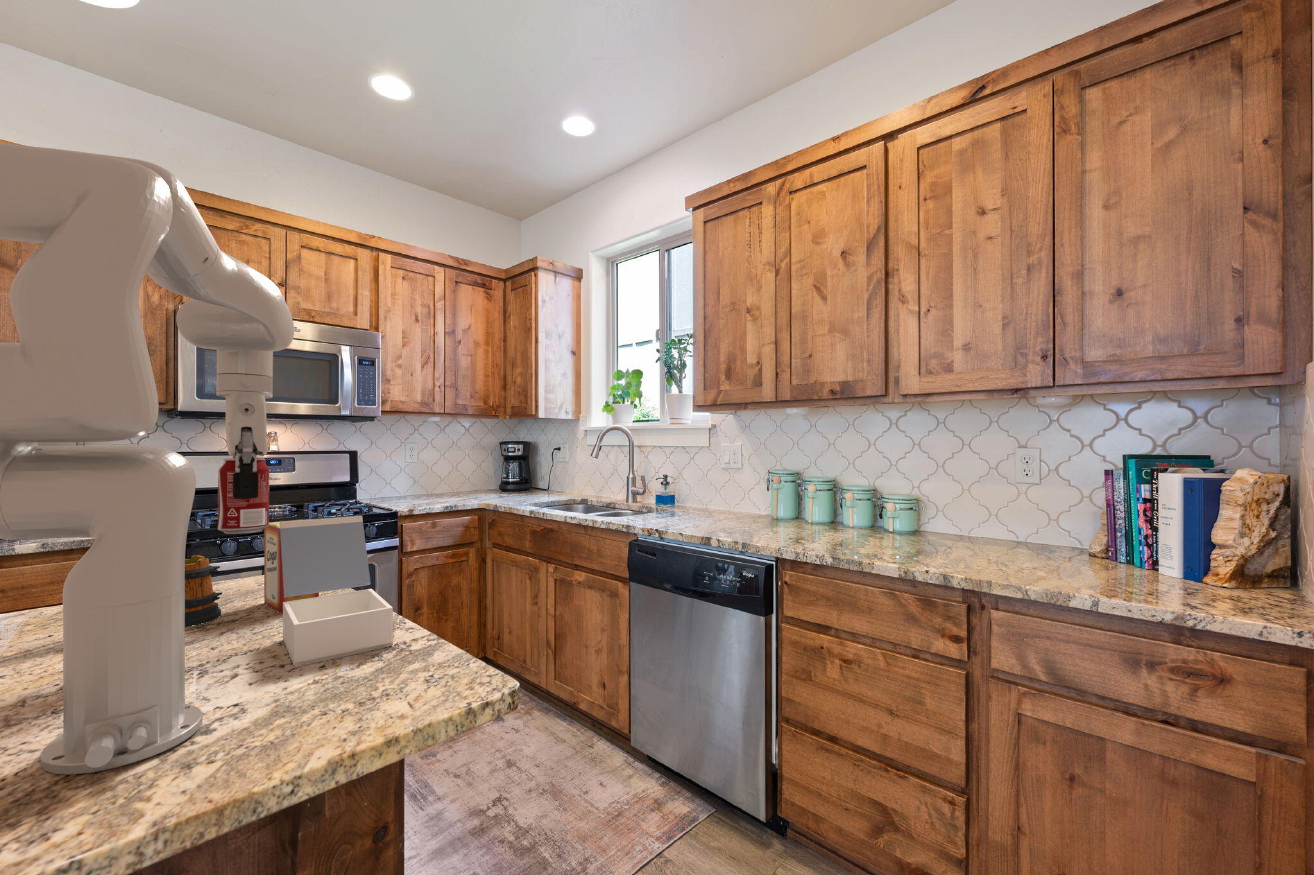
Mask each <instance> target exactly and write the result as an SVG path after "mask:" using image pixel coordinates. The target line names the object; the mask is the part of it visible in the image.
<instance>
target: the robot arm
mask: <svg viewBox="0 0 1314 875" xmlns="http://www.w3.org/2000/svg"><path fill="white" fill-rule="evenodd" d="M0 241H13V242H23V243H34V244H35V243H36V244H41V245H40V246H39V247H38V248H37V249H36V250H35V251H34V252H33V253H32V254H31V256H29V258H27V259H26V260H25V262H24V263H23V264H22V266H21V267H20V268H19V269H18V270H17V273H16V274H15V276H14V278H13V280H12V283H11V286H10V287H9V288H10V289H9V297H8V299H9V303H10V309H11V314H12V316H13V319H14V323H15V327H16V332H17V335H18V340H19V342H1V341H0V540H17V541H19V540H48V539H66V538H67V539H70V538H80V539H82V538H83V539H84V538H91V539H94V542H93V543H92V545H91V547H90V548H89V549H88V550H87V551H86V552H85V553H84V555H83V556H82V557H81V558H80V559H79V560H78V561H77V562H76V563H75V564H74V566H73V567H72V568H71V570H70V571H69V572H68V574H67V576H66V578H65V581H64V583H63V588H62V613H63V614H62V621H63V622H62V626H63V629H62V632H63V634H62V635H63V638H62V639H63V640H62V647H63V648H62V649H63V650H62V652H63V653H62V654H63V655H62V660H63V661H62V662H63V663H62V664H63V666H62V669H63V672H62V673H63V674H62V675H63V676H62V677H63V678H62V680H63V681H62V683H63V684H62V685H63V686H62V689H63V691H62V692H63V693H62V694H63V696H62V699H63V702H62V703H63V704H62V705H63V706H62V708H63V709H62V710H63V711H62V712H63V714H62V715H63V722H62V723H63V725H62V726H63V728H62V729H63V731H62V734H60V735H59V736H57V737H56V738H54V739H53V740H52V741H50V742H48V744H47V745H46V746H45V747H44V748H43V749H42V751H41V753H40V766H41V768H42V769H43V770H45V771H47V772H48V773H50V774H51V773H52V774H56V775H57V774H58V775H79V774H80V775H81V774H82V775H83V774H90V773H96V772H101V771H106V770H111V769H115V768H119V767H122V766H123V767H124V766H127V765H130V764H134V763H136V762H139V761H142V760H146V759H148V758H151V757H153V756H156V755H158V754H162V753H164V752H166V751H167V750H169V749H172V748H174V747H176V746H178V745H179V744H181V743H183V742H184V741H185V742H186V740H188V739H189V738H191V737H192V736H193V735H194V734H196V732H197V731H199V729H200V728H201V727H202V724H203V711H202V709H201V708H199V707H198V706H196V705H192V704H186V664H185V663H186V651H185V650H186V649H185V648H186V627H185V559H186V547H187V546H186V544H187V538H188V537H187V535H188V530H189V529H188V528H189V523H190V520H191V519H190V518H191V513H192V509H193V504H194V500H195V499H194V498H195V493H196V484H197V483H196V481H197V480H196V473H195V470H194V468H193V465H192V464H191V462H190V461H189V460H188V459H187V458H186V457H185V456H184V455H183V454H180V453H178V452H176V451H174V450H170V449H168V448H164V447H158V446H152V445H137V444H122V445H121V444H117V445H116V444H106V445H105V444H95V445H94V444H87V445H39V444H38V443H103V442H104V443H105V442H115V441H116V442H117V441H125V440H130V439H131V440H132V439H135V438H139V437H141V436H143V435H145V434H147V433H149V432H150V431H151V430H152V429H153V428H154V427H155V425H156V423H157V421H158V417H159V407H160V406H159V395H158V390H157V384H156V381H155V376H154V371H153V368H152V363H151V359H150V358H151V357H150V354H149V349H148V344H147V340H146V336H145V331H144V326H143V322H142V317H141V308H140V293H141V289H142V284H143V280H144V277H145V276H146V274H147V276H149V278H150V279H151V281H153V282H154V283H155V284H156V285H158V286H160V287H161V288H163V289H165V290H167V291H169V292H171V293H174V294H176V295H180V296H182V297H185V298H189V299H190V300H187V301H185V302H183V303H182V304H181V305H180V307H179V308H178V310H177V313H176V317H175V318H176V326H177V329H178V330H179V333H180V335H181V337H183V338H184V339H185V340H186V341H187V342H188V343H190V344H191V345H193V346H195V347H198V348H201V349H206V350H215V351H216V386H215V388H216V392H215V393H216V394H215V395H216V396H217V397H222V398H225V435H226V436H225V437H226V447H227V452H228V455H229V456H231V457H232V458H235V473H233V498H234V499H245V498H257V497H258V473H257V460H256V458H257V455H258V456H259V457H264V456H266V455H267V454H268V442H267V441H268V440H267V435H268V434H267V405H266V404H267V403H266V399H273V385H274V384H273V382H274V380H273V379H274V377H273V376H274V372H273V368H274V352H280V351H282V350H286V349H287V348H288V347H289V346H290V345H291V344H292V342H293V339H294V336H295V325H294V320H293V317H292V313H291V310H290V309H289V306H288V304H287V302H286V300H285V298H284V295H283V294H282V292H281V290H280V289H279V287H278V286H277V285H276V284H275V283H274V282H273V281H272V280H271V279H270V278H268V276H266V275H264V274H263V273H261V272H259V271H257V269H256V268H255V269H254V268H253V267H251V266H250V265H248V264H247V263H244V262H243V261H242V260H240V259H237V258H235V257H234V256H232V255H230V254H229V253H226V252H224V251H222V249H220V247H219V245H218V244H217V241H216V240H215V238H214V236H213V234H212V233H211V230H209V227H208V226H207V224H206V222H205V220H204V218H203V216H202V215H201V214H200V212H199V210H198V208H197V206H196V205H195V202H194V201H193V200H192V198H191V196H190V194H189V193H188V191H187V189H186V187H185V186H184V185H183V183H182V182H181V181H180V180H179V179H178V177H177V176H175V175H174V173H172V172H171V171H169V170H168V169H166V168H164V167H162V166H160V165H157V164H156V163H153V162H149V161H146V160H142V159H136V158H130V157H125V156H116V155H108V154H107V155H106V154H100V153H99V154H97V153H91V152H84V151H76V150H75V151H74V150H69V149H62V148H61V149H60V148H52V147H40V146H30V145H22V144H15V143H9V142H7V143H6V142H0ZM239 462H240V464H239Z"/></svg>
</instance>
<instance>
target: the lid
mask: <svg viewBox="0 0 1314 875" xmlns="http://www.w3.org/2000/svg"><path fill="white" fill-rule="evenodd" d="M298 520H299V521H293V520H285V521H286V522H283V521H279V522H280V536H281V552H282V568H283V584H284V598H285V597H291V596H298V595H305V594H312V593H318V592H319V593H324V592H331V591H337V590H344V589H350V588H357V587H365V586H369V585H371V584H372V583H371V576H370V570H369V569H370V568H369V560H368V553H367V544H366V537H365V528H364V521H363V515H352V516H339V517H326V518H313V519H298Z"/></svg>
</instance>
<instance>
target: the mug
mask: <svg viewBox="0 0 1314 875" xmlns="http://www.w3.org/2000/svg"><path fill="white" fill-rule="evenodd" d="M220 568H221V566H220V565H216V566H215V565H214V566H213V565H210V560H209V557H205V556H204V555H200V554H197V555H191V557H190V558H187V559H186V558H185V628H189V627H188V626H190V627H193V626H192V625H196V626H199V624H200V625H202V624H201V623H204V624H207V623H206V622H208V623H210V622H213V621H215V619H216V620H217V618H218V617H219V616H220V617H222V609H221V608H220V607H219V603H218V602H216V601H217V600H220V598H221V597H220V596H221V595H223V592H221V591H220V592H216V591H214V588H213V581H212V574H214V573H216V572H218V571H219V569H220ZM220 617H219V618H220ZM212 620H213V621H212Z"/></svg>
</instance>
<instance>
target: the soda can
mask: <svg viewBox="0 0 1314 875" xmlns="http://www.w3.org/2000/svg"><path fill="white" fill-rule="evenodd" d="M256 460H257V473H258V497H257V498H245V499H234V498H233V473H235V458H233V457H232V458H223V461H224V462H223V463H222V464H221V465H220V467H219V468H218V472H217V476H218V480H217V481H218V482H217V483H218V485H217V486H218V487H217V530H218V531H220V532H223V533H224V534H226V535H237V534H239V535H240V534H253V533H259V532H262V531H264V528H267V527H268V526H269V523H270V520H269V519H270V468H269V466H268V465H267V464H266V463H265V460H266V459H265V458H263V457H259V458H258V457H256ZM239 464H240V462H239Z"/></svg>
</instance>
